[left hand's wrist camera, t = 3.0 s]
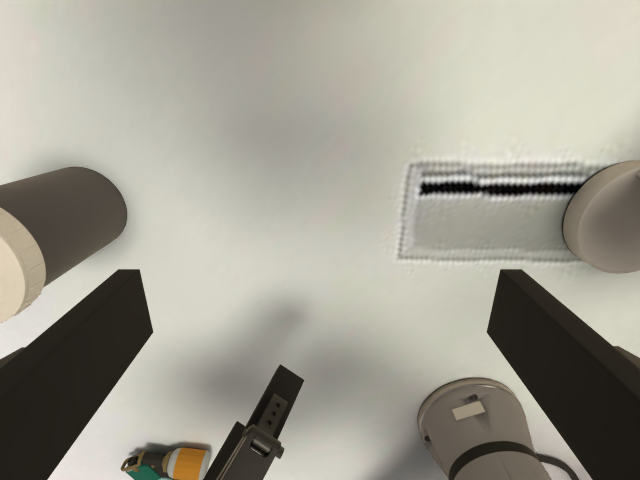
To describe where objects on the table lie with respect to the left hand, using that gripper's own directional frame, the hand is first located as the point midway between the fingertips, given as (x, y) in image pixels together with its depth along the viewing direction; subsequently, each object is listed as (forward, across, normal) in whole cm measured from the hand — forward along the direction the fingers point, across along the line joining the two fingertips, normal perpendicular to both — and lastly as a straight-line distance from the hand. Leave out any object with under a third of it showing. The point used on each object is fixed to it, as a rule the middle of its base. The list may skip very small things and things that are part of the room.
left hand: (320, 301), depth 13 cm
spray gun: (+28, -22, -51) cm, 62 cm away
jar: (+28, -27, -5) cm, 39 cm away
